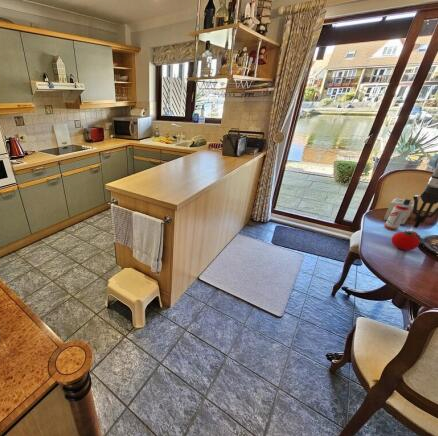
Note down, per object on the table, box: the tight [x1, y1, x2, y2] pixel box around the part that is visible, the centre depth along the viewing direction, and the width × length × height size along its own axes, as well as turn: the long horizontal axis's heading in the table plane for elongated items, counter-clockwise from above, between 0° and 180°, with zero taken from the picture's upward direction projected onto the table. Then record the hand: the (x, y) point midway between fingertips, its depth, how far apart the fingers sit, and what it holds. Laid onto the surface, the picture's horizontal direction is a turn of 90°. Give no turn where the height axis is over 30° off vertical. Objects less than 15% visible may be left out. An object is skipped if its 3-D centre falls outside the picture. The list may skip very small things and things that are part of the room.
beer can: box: [384, 204, 408, 231], centre depth 149 cm, size 6×6×16 cm
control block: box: [417, 234, 424, 247], centre depth 139 cm, size 10×8×4 cm
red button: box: [407, 230, 419, 236], centre depth 138 cm, size 4×4×2 cm
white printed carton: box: [382, 197, 414, 226], centre depth 161 cm, size 10×12×13 cm
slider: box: [403, 198, 412, 205], centre depth 154 cm, size 2×2×3 cm
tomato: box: [390, 229, 419, 251], centre depth 131 cm, size 10×10×10 cm
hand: (415, 226), depth 136 cm, fingers closed
